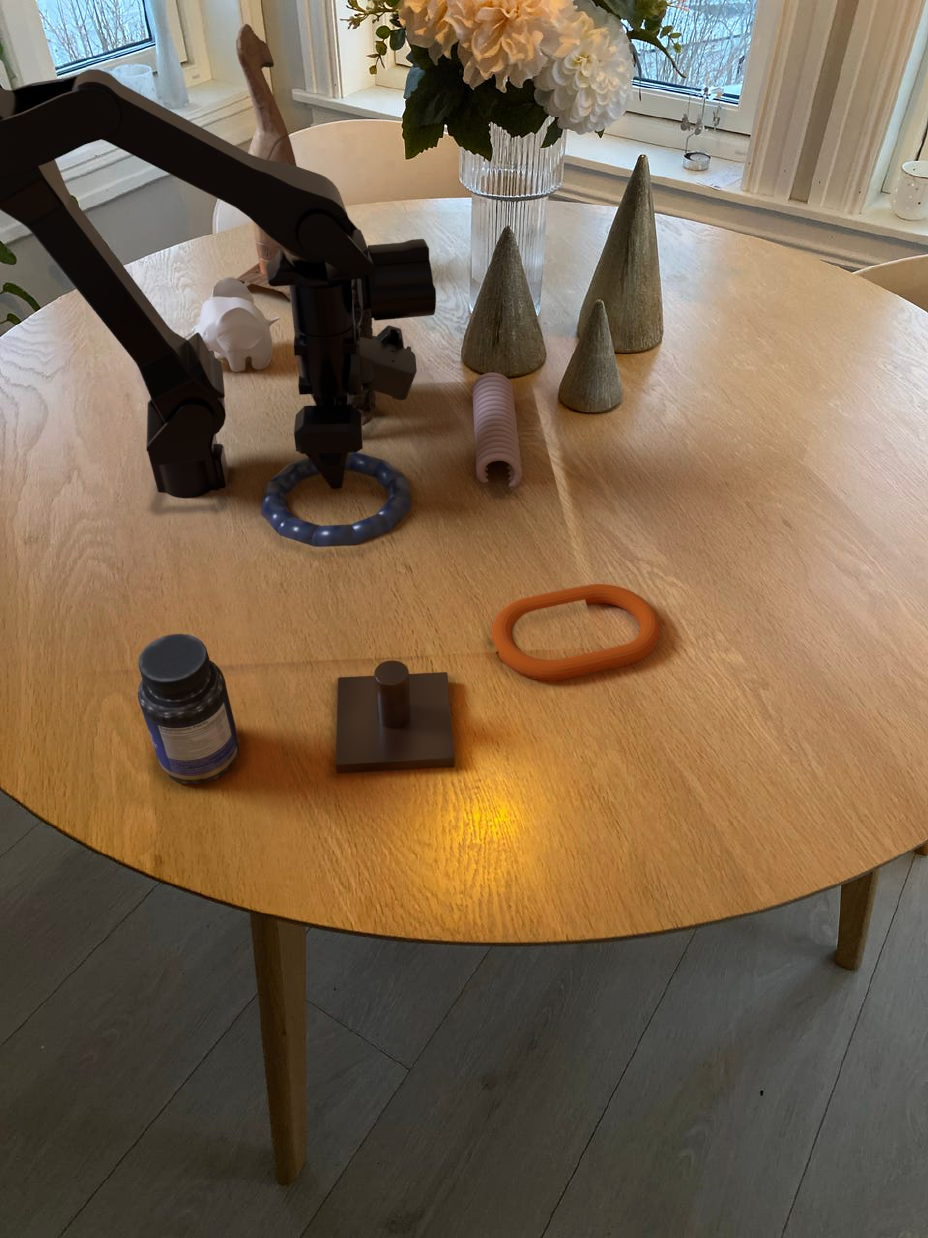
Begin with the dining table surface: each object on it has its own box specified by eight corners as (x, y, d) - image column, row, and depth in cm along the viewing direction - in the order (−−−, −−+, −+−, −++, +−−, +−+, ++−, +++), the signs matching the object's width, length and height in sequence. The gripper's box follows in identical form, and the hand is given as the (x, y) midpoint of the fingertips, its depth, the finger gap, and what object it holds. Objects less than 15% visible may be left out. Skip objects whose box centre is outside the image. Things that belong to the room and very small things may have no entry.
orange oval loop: (476, 603, 84) (632, 571, 88) (476, 617, 86) (629, 585, 89) (513, 681, 78) (680, 643, 81) (512, 695, 79) (677, 657, 82)
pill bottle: (166, 727, 76) (135, 627, 68) (244, 723, 76) (221, 623, 69) (154, 790, 72) (119, 691, 64) (237, 785, 72) (212, 686, 64)
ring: (258, 558, 91) (255, 538, 90) (269, 469, 102) (266, 450, 100) (414, 552, 92) (413, 532, 90) (408, 464, 103) (407, 445, 101)
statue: (308, 422, 109) (287, 247, 95) (337, 392, 113) (322, 222, 100) (362, 435, 107) (349, 259, 93) (389, 404, 112) (381, 232, 98)
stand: (336, 774, 73) (329, 721, 69) (338, 686, 79) (332, 633, 75) (454, 767, 73) (455, 714, 69) (447, 681, 80) (447, 628, 76)
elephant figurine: (184, 349, 121) (169, 281, 114) (279, 337, 123) (270, 270, 117) (191, 387, 114) (176, 316, 108) (291, 373, 117) (282, 303, 110)
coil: (525, 460, 96) (515, 370, 109) (479, 456, 95) (474, 366, 108) (518, 498, 99) (509, 406, 112) (474, 494, 99) (469, 402, 112)
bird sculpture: (342, 277, 136) (322, 17, 114) (299, 311, 129) (269, 39, 107) (275, 263, 140) (243, 7, 118) (229, 295, 132) (185, 27, 110)
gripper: (414, 369, 84) (418, 513, 94) (406, 277, 97) (410, 412, 108) (285, 373, 83) (304, 517, 94) (295, 280, 96) (311, 415, 107)
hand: (337, 462), depth 101 cm, fingers open, 9 cm apart
